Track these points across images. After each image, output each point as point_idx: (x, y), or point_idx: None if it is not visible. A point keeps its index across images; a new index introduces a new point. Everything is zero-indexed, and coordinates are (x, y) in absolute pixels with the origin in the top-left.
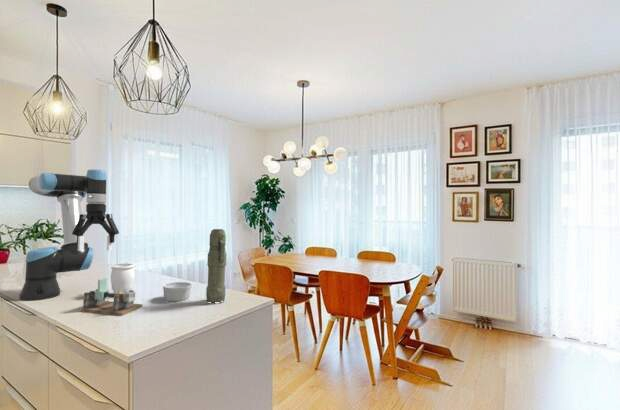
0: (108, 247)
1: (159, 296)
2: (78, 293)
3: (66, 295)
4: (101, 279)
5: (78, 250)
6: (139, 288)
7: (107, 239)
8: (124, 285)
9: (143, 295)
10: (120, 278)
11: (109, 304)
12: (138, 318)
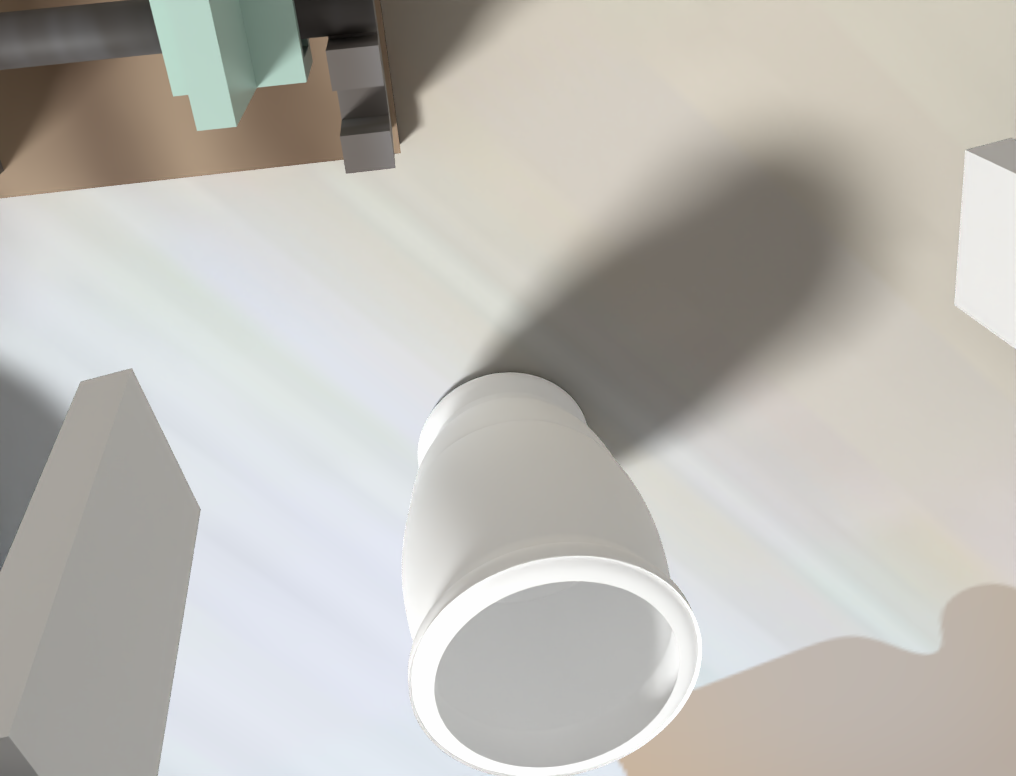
0: (64, 427)
1: None
2: (942, 313)
3: None
4: (179, 20)
5: (998, 145)
6: None
7: (35, 605)
8: (426, 469)
9: (282, 504)
10: (455, 487)
11: None
12: None
